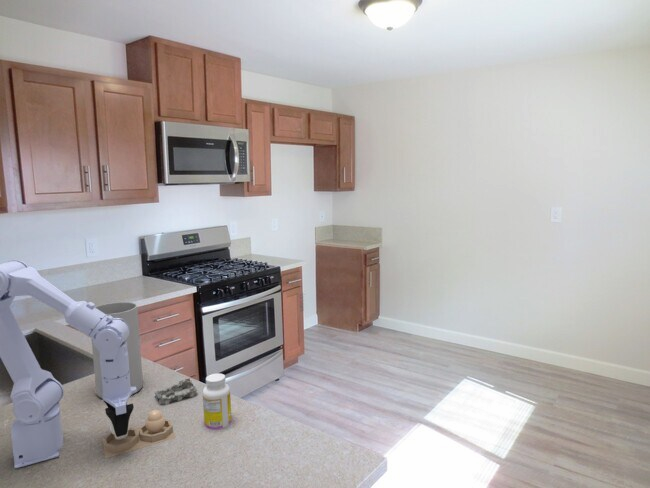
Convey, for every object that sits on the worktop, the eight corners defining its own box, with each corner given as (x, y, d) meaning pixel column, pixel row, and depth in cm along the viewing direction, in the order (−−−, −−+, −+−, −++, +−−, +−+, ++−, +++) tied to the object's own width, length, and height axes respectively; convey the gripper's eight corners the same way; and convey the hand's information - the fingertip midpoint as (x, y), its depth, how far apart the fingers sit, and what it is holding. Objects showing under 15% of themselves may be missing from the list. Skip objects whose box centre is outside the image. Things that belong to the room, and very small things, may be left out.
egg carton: (192, 390, 130) (191, 376, 129) (199, 400, 124) (198, 386, 123) (154, 399, 124) (153, 385, 124) (159, 411, 118) (158, 396, 118)
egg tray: (105, 462, 96) (104, 451, 96) (102, 441, 104) (101, 432, 103) (176, 441, 104) (175, 431, 103) (168, 423, 111) (167, 414, 111)
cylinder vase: (148, 391, 128) (142, 309, 125) (101, 405, 121) (93, 317, 117) (137, 377, 138) (131, 299, 135) (92, 388, 131) (85, 307, 127)
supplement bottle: (222, 415, 115) (220, 369, 113) (237, 425, 110) (234, 376, 108) (199, 425, 110) (196, 377, 108) (213, 436, 105) (210, 385, 104)
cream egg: (111, 443, 98) (109, 420, 98) (109, 434, 102) (107, 411, 101) (132, 438, 101) (131, 414, 100) (130, 428, 104) (128, 406, 104)
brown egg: (147, 440, 102) (146, 417, 102) (144, 431, 106) (143, 409, 105) (167, 434, 105) (165, 412, 104) (163, 425, 108) (162, 404, 108)
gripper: (139, 381, 95) (143, 440, 97) (130, 359, 107) (134, 411, 109) (103, 389, 92) (108, 450, 93) (98, 365, 104) (103, 419, 106)
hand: (120, 429), depth 101 cm, fingers closed on cream egg, 4 cm apart
